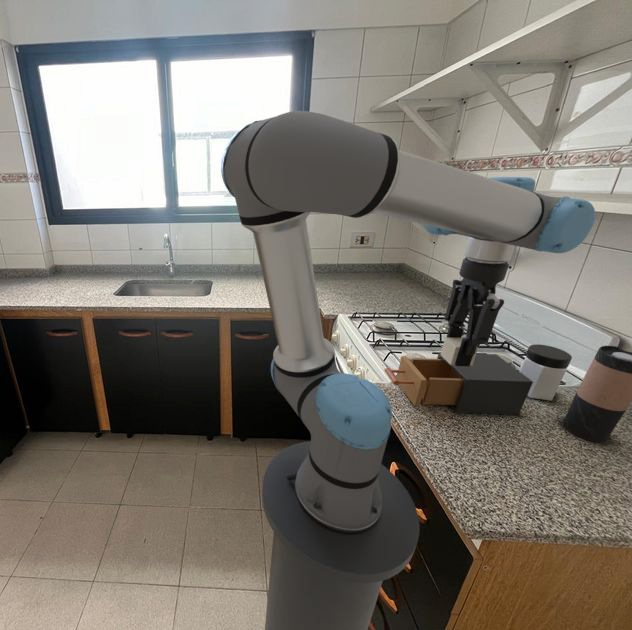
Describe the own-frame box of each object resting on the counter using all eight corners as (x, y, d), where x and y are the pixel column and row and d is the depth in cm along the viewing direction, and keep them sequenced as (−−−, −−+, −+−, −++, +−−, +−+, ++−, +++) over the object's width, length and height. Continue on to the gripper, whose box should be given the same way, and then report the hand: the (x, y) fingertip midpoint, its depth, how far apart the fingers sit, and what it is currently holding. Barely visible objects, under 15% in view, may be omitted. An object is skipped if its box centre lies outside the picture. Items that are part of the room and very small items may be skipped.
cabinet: (455, 412, 84) (466, 379, 81) (429, 382, 96) (438, 352, 92) (518, 414, 83) (533, 381, 79) (485, 384, 95) (496, 354, 91)
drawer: (394, 405, 86) (400, 379, 82) (377, 379, 96) (382, 355, 93) (471, 408, 84) (481, 381, 81) (446, 381, 95) (454, 357, 92)
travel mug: (579, 441, 75) (622, 362, 67) (552, 417, 82) (588, 344, 74) (619, 444, 74) (667, 365, 66) (588, 420, 81) (629, 346, 73)
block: (450, 365, 77) (455, 347, 75) (440, 354, 81) (444, 337, 79) (472, 365, 76) (478, 347, 75) (461, 355, 81) (466, 337, 79)
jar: (516, 378, 97) (531, 340, 93) (555, 390, 92) (573, 351, 87) (510, 391, 92) (526, 352, 87) (551, 405, 86) (570, 364, 82)
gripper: (540, 272, 61) (498, 382, 70) (479, 249, 77) (452, 341, 86) (494, 271, 62) (459, 380, 71) (443, 249, 78) (420, 340, 87)
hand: (455, 358), depth 79 cm, fingers closed on block, 5 cm apart
